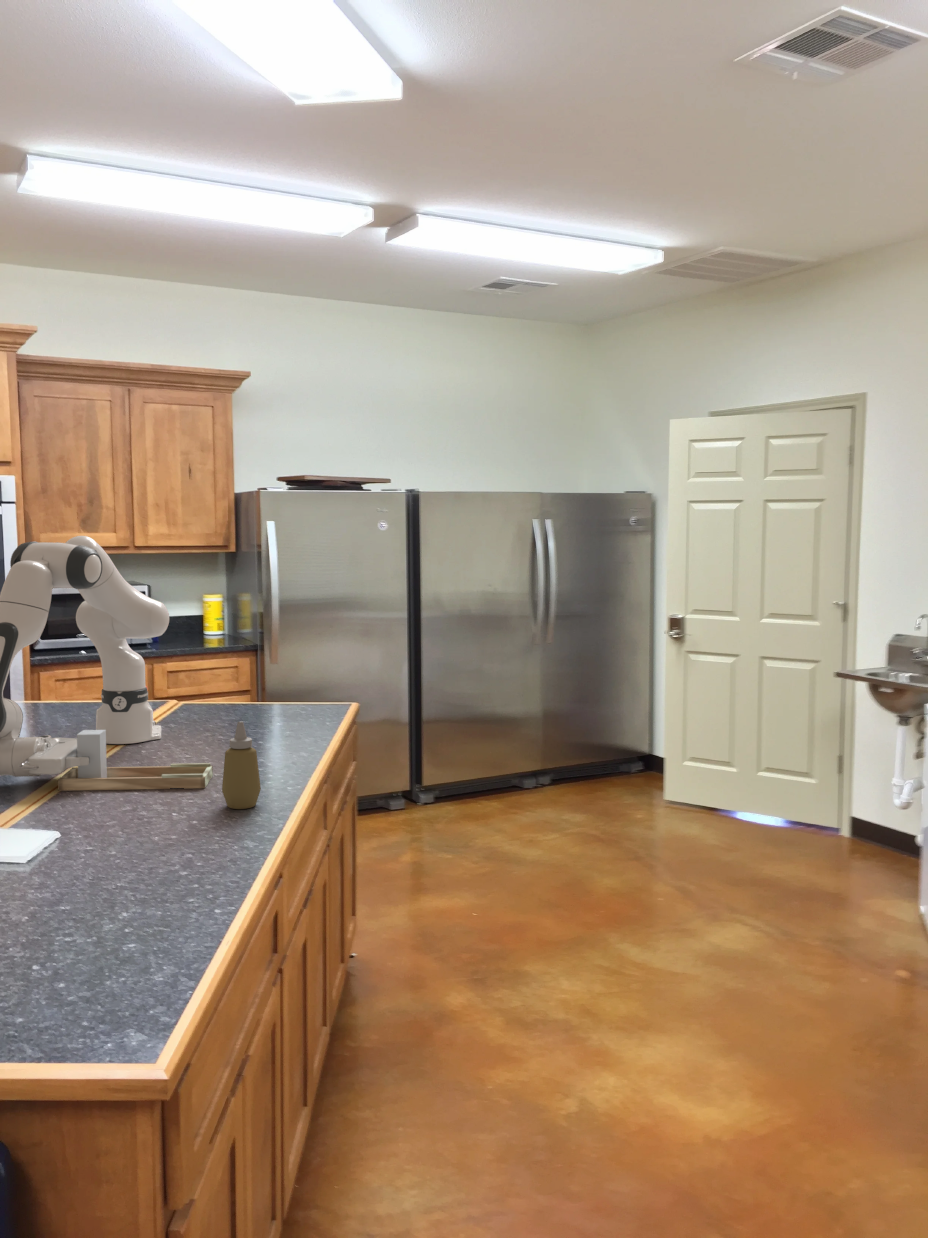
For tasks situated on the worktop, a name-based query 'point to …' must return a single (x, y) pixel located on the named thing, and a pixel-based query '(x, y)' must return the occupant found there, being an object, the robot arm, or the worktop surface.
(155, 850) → the worktop surface
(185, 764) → the channel
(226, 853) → the worktop surface
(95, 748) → the blue-grey block
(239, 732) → the squeeze bottle
